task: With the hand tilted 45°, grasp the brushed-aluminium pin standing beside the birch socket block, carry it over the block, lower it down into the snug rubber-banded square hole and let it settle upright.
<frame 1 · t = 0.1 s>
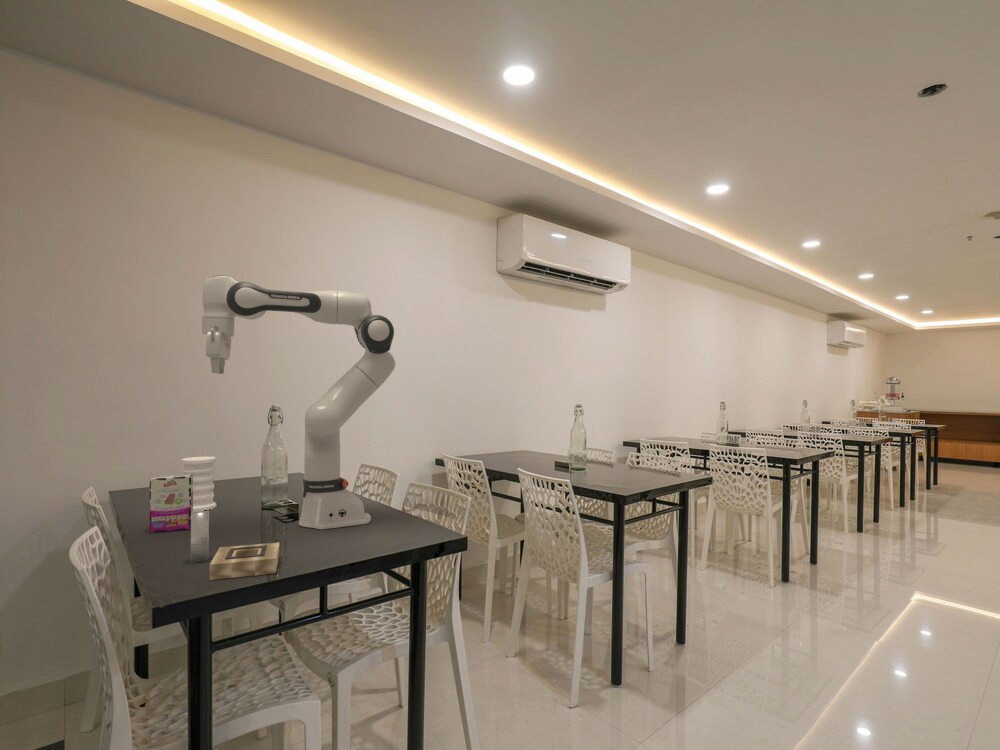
hand: (217, 373, 168), 48 cm above the table, tool pointing down, fingers open, 8 cm apart
aluminium pin: (199, 559, 139), on the table
decorative container: (198, 509, 198), on the table
candy bar box: (171, 530, 169), on the table
socket block: (246, 567, 134), on the table
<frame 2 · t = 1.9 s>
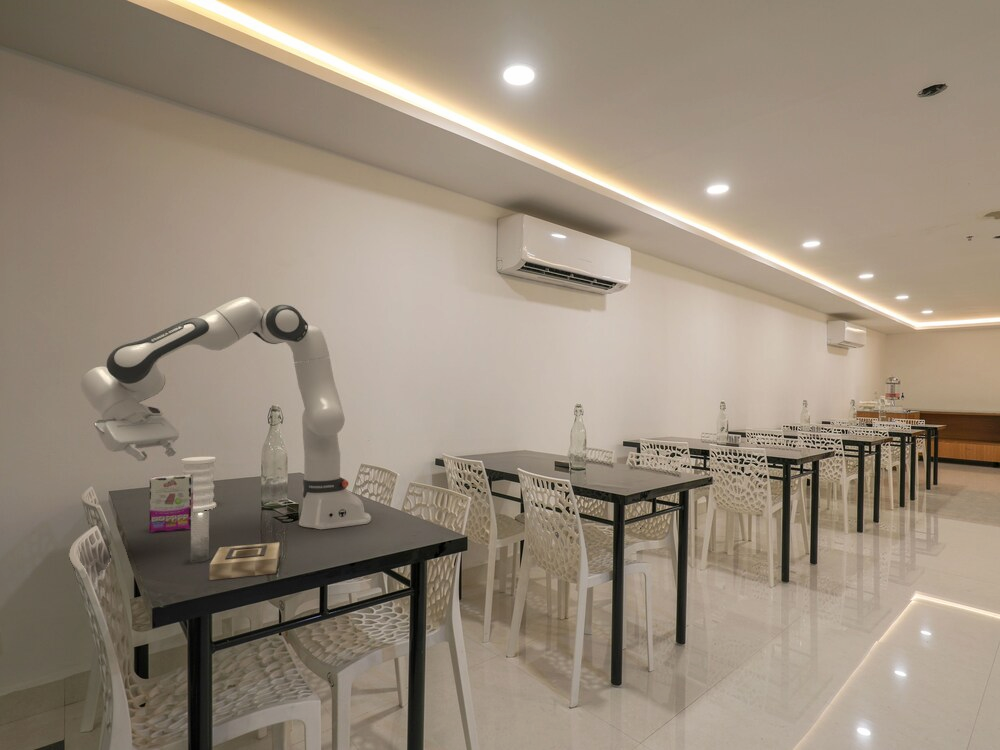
hand: (158, 456, 142), 26 cm above the table, tool tilted 45°, fingers open, 8 cm apart
nothing on the table moved.
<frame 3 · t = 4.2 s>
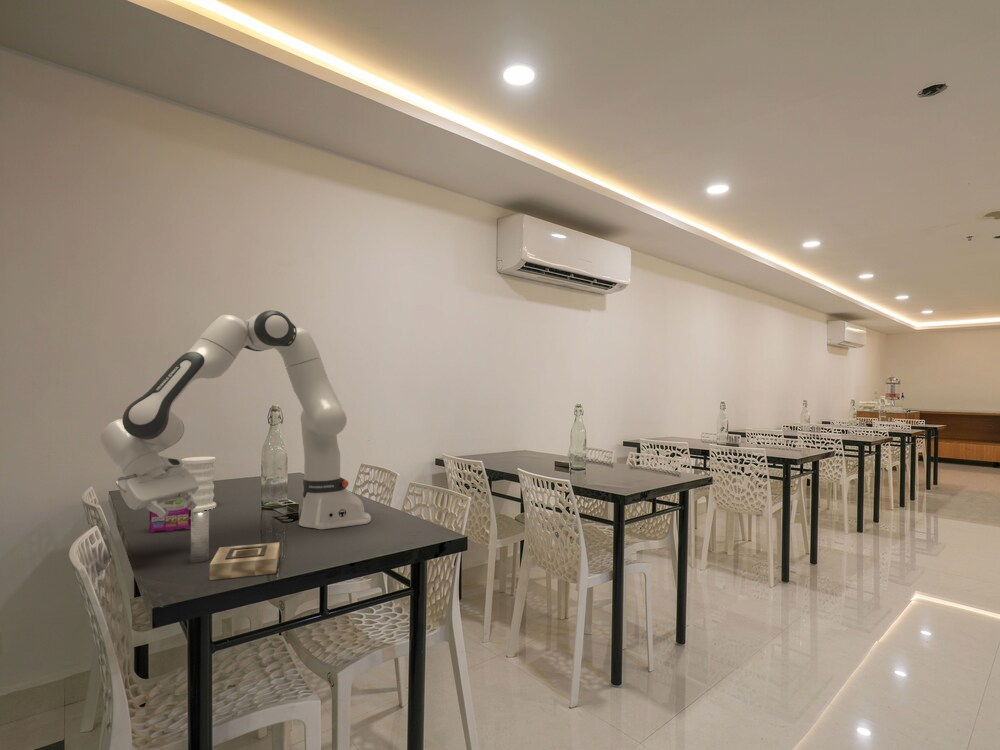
hand: (179, 511, 141), 12 cm above the table, tool tilted 45°, fingers open, 8 cm apart
nothing on the table moved.
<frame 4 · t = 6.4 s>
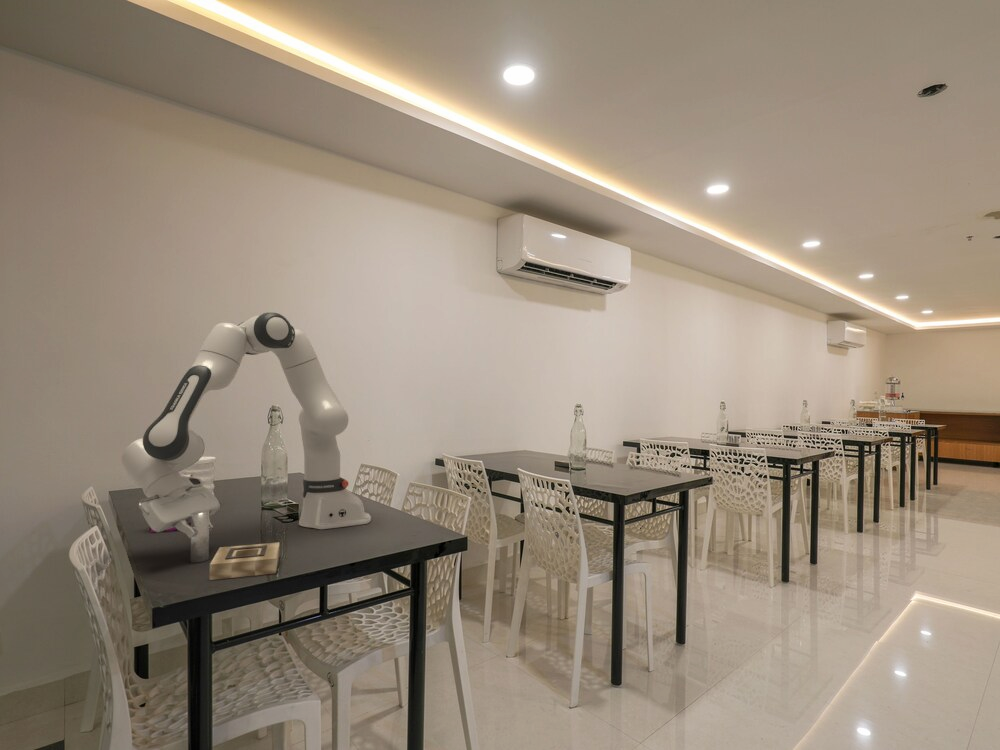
hand: (202, 532, 139), 7 cm above the table, tool tilted 45°, fingers closed on aluminium pin, 4 cm apart
aluminium pin: (199, 559, 139), on the table, touching gripper
everything else where it was.
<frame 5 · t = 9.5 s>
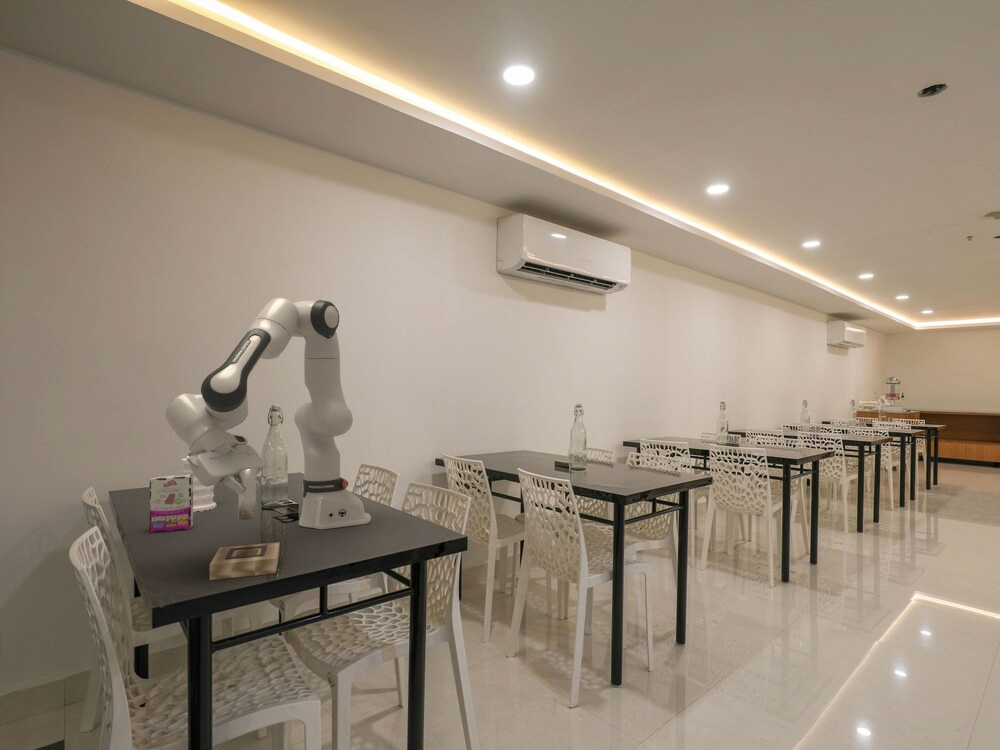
hand: (249, 489, 134), 19 cm above the table, tool tilted 45°, fingers closed on aluminium pin, 4 cm apart
aluminium pin: (247, 518, 134), point 12 cm above the table, touching gripper
everything else where it was.
when the fingers open (8 cm above the table, at t = 12.9 s): aluminium pin drops 1 cm, resting in socket block.
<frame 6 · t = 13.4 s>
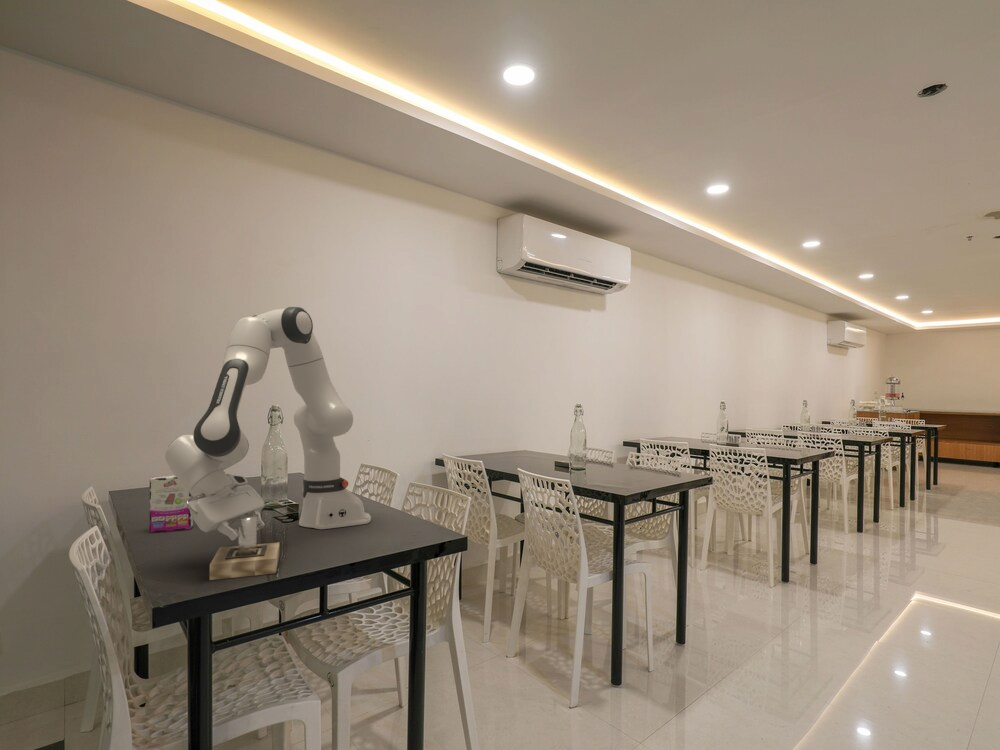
hand: (249, 532, 134), 8 cm above the table, tool tilted 45°, fingers open, 8 cm apart
aluminium pin: (247, 567, 134), resting in socket block
everything else where it was.
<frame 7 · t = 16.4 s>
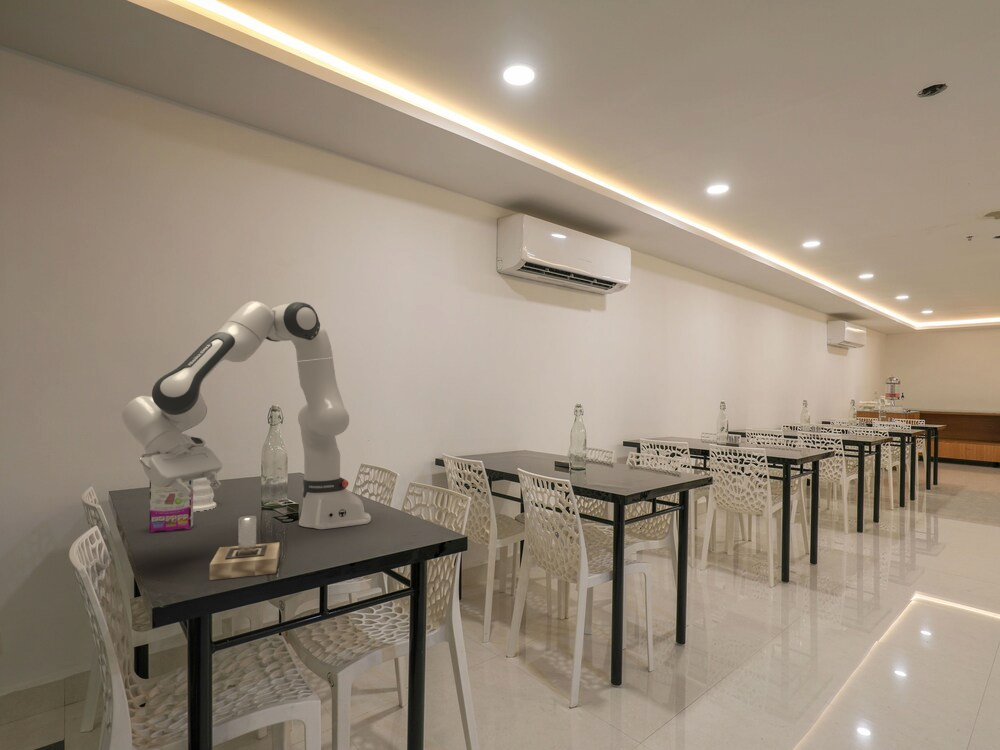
hand: (204, 490, 136), 18 cm above the table, tool tilted 45°, fingers open, 8 cm apart
nothing on the table moved.
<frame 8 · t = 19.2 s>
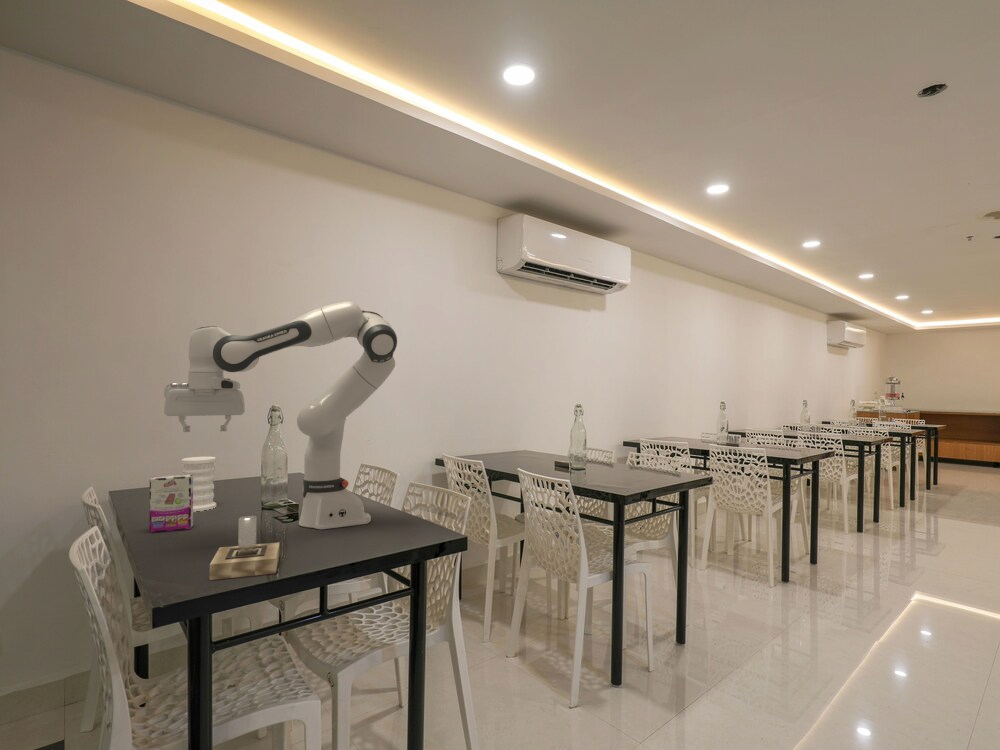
hand: (205, 431, 156), 31 cm above the table, tool pointing down, fingers open, 8 cm apart
nothing on the table moved.
at the end: aluminium pin 0.1 cm off-centre on the socket block, point 0.0 cm above the socket block's base; aluminium pin tilted 0°; the gripper is holding nothing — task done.
